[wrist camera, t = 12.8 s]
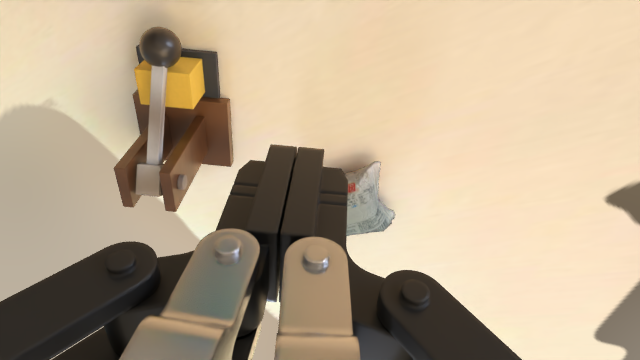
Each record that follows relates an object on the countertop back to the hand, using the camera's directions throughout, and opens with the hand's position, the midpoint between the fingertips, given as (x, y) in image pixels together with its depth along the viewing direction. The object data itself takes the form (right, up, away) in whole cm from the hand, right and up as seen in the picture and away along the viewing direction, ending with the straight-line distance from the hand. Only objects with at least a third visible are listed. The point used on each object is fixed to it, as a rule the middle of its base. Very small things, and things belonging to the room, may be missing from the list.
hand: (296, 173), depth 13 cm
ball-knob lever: (-14, +6, +30) cm, 33 cm away
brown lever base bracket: (-14, +6, +37) cm, 40 cm away
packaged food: (+3, -1, +40) cm, 40 cm away
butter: (-14, +11, +33) cm, 37 cm away
